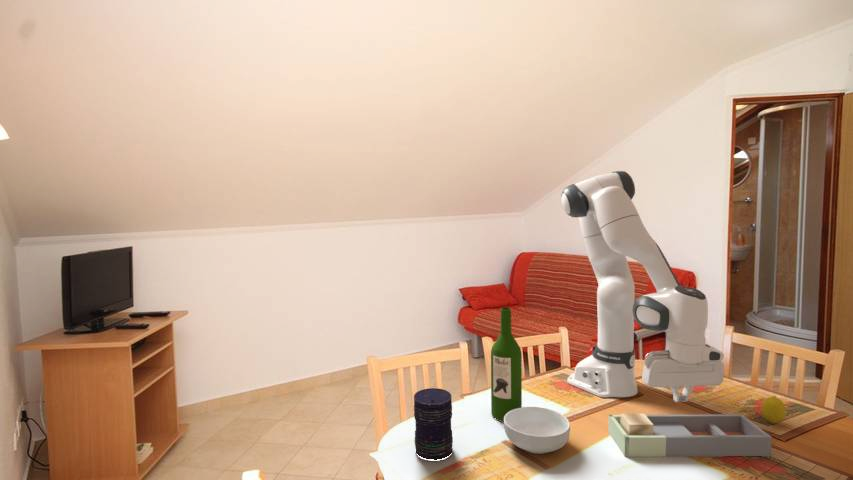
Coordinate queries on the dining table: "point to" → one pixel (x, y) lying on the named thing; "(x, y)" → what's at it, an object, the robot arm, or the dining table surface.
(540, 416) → the cereal bowl
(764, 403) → the lemon
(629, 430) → the block
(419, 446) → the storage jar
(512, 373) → the wine bottle
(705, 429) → the tray
